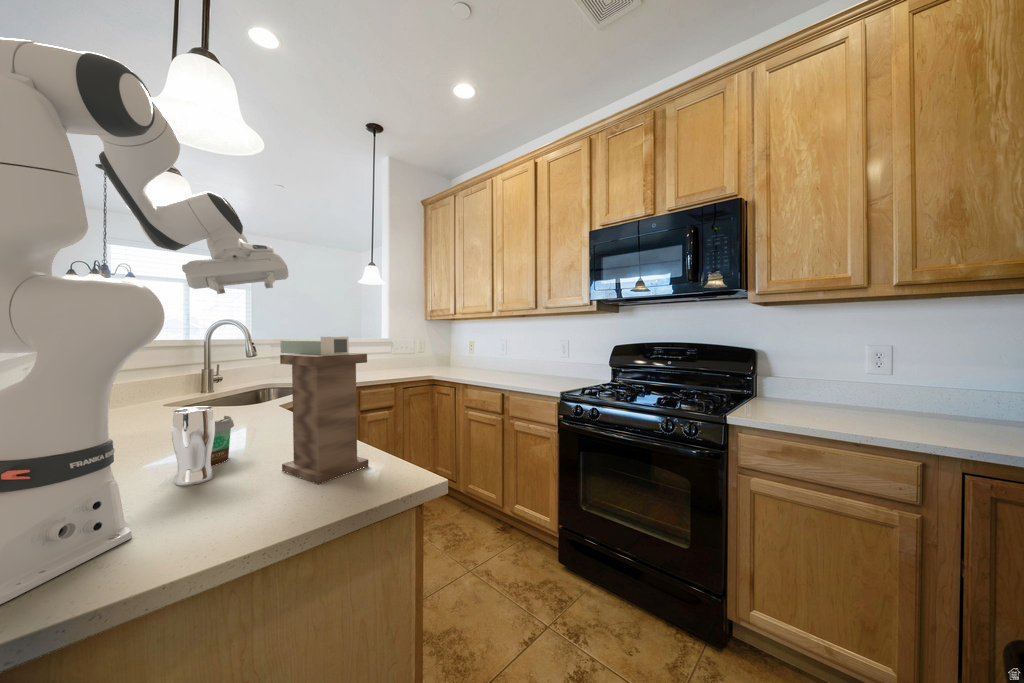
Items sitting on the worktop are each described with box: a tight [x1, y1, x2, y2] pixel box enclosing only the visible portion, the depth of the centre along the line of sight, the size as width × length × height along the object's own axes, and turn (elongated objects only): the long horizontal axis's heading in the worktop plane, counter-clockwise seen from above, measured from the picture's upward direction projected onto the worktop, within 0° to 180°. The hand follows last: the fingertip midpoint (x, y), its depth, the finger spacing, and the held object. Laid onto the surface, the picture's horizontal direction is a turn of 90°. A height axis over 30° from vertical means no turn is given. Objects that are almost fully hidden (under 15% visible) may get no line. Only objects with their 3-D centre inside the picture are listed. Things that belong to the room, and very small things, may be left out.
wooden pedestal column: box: [279, 352, 369, 485], centre depth 85 cm, size 14×12×26 cm
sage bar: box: [280, 336, 350, 356], centre depth 87 cm, size 22×4×4 cm, turn 58°
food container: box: [211, 415, 235, 467], centre depth 89 cm, size 12×6×10 cm, turn 168°
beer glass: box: [170, 405, 216, 487], centre depth 78 cm, size 7×7×15 cm
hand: (245, 288), depth 87 cm, fingers open, 8 cm apart
